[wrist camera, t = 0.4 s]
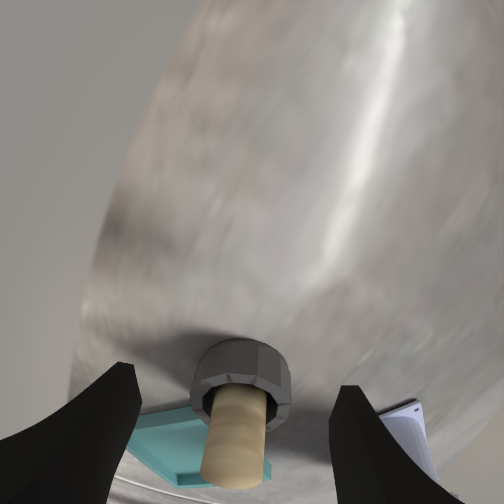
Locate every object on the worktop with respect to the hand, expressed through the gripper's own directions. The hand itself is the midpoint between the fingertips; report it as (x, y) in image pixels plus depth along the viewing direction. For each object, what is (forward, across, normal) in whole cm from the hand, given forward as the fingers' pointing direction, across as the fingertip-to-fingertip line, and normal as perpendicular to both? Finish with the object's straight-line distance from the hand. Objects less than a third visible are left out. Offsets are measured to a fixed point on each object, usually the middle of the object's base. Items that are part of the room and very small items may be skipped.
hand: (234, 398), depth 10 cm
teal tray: (+10, +5, +20) cm, 23 cm away
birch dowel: (+10, 0, +8) cm, 13 cm away
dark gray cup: (+10, 0, +8) cm, 13 cm away
